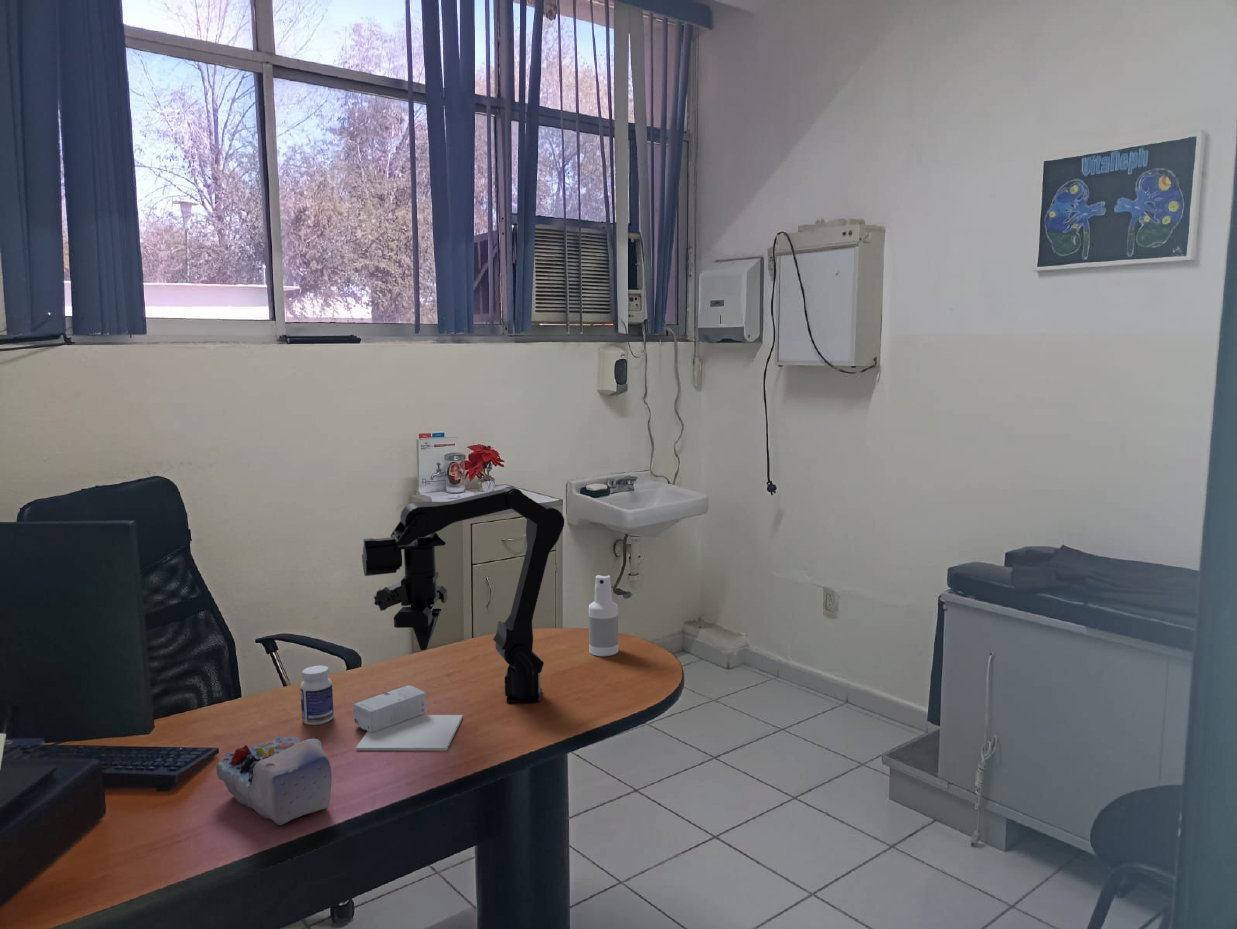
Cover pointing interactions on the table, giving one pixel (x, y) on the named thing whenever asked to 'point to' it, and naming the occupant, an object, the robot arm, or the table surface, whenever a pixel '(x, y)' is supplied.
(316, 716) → the pill bottle
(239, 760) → the cell model
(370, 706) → the skincare box
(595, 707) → the table surface
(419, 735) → the mat
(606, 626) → the spray bottle
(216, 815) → the table surface
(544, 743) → the table surface
